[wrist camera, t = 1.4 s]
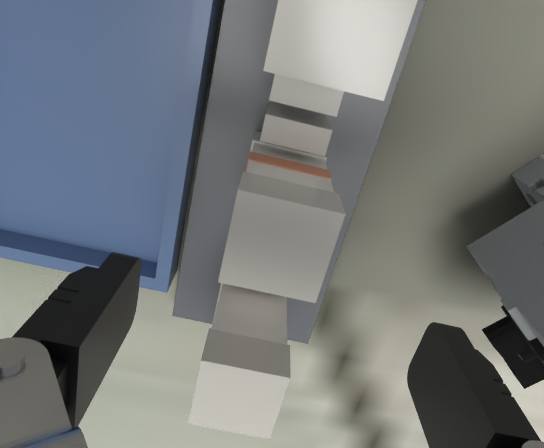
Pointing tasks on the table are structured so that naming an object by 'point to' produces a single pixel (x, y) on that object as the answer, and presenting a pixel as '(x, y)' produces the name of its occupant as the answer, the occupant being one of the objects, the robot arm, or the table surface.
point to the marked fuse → (282, 223)
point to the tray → (100, 129)
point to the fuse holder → (276, 130)
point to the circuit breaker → (519, 279)
